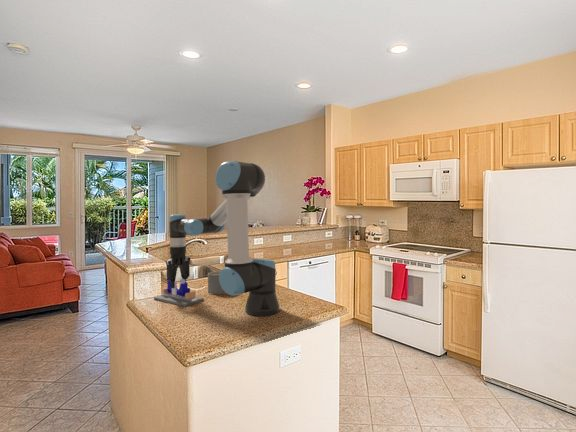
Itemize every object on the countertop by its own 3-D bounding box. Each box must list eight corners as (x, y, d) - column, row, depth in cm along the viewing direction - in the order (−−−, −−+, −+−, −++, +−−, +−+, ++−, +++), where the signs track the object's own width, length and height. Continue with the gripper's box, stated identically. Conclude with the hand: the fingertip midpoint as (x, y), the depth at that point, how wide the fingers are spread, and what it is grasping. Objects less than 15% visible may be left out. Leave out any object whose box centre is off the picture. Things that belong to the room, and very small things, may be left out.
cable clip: (190, 294, 172) (190, 282, 171) (182, 296, 168) (182, 284, 168) (175, 290, 179) (175, 278, 179) (167, 292, 175) (167, 280, 175)
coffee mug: (227, 293, 186) (227, 274, 185) (208, 294, 183) (207, 275, 183) (226, 287, 199) (225, 269, 198) (207, 288, 196) (207, 270, 196)
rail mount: (203, 300, 173) (203, 290, 173) (184, 306, 163) (184, 296, 162) (173, 294, 184) (173, 284, 184) (153, 299, 174) (153, 289, 174)
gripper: (186, 243, 182) (187, 288, 183) (157, 247, 167) (158, 296, 168) (197, 244, 178) (197, 290, 179) (168, 248, 163) (169, 298, 164)
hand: (178, 293), depth 173 cm, fingers closed on cable clip, 5 cm apart
